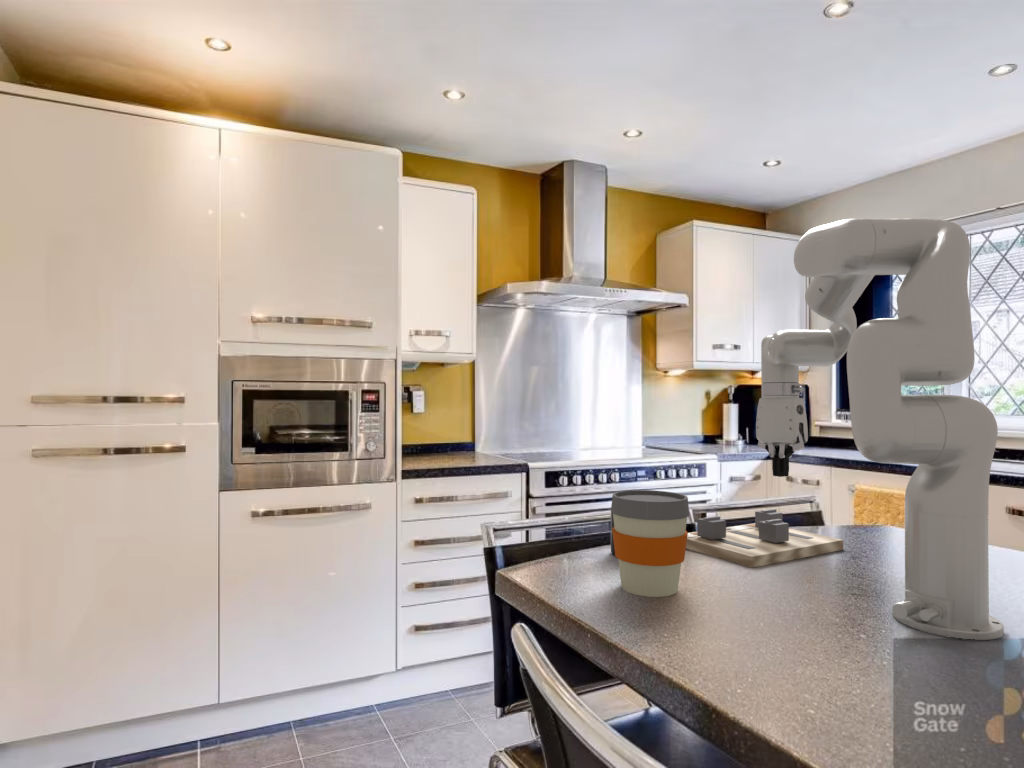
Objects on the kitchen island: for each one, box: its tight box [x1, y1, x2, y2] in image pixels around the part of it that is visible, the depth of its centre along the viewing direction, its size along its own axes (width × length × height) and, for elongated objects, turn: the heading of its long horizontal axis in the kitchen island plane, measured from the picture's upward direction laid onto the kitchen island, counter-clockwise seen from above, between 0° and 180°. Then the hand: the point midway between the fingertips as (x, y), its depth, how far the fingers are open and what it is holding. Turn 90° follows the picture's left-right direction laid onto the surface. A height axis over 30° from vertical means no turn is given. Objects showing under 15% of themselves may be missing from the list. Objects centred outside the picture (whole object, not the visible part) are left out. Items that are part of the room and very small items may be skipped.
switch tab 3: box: [759, 519, 790, 543], centre depth 126 cm, size 4×4×4 cm
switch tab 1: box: [696, 515, 727, 540], centre depth 128 cm, size 4×4×4 cm
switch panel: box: [686, 522, 844, 569], centre depth 129 cm, size 28×20×2 cm
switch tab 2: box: [754, 508, 784, 528], centre depth 137 cm, size 4×4×4 cm
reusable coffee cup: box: [610, 489, 690, 598], centre depth 101 cm, size 12×13×15 cm
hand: (780, 475), depth 135 cm, fingers closed
